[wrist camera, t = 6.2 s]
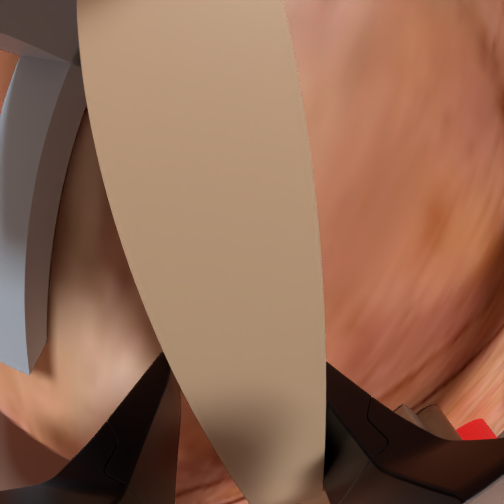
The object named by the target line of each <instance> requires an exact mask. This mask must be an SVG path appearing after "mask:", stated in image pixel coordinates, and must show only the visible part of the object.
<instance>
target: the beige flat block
mask: <svg viewBox="0 0 504 504" xmlns="http://www.w3.org/2000/svg"><path fill="white" fill-rule="evenodd" d="M77 23H78V37H79V49H80V58H81V67H82V75H83V82H84V89H85V96H86V102H87V108H88V113H89V119H90V124H91V129H92V134H93V139H94V144H95V148H96V153H97V157H98V162H99V166H100V170H101V174H102V178H103V182H104V186H105V190H106V193H107V197H108V201H109V204H110V208H111V211H112V215H113V218H114V221H115V225H116V228H117V231H118V234H119V237H120V240H121V244H122V247H123V250H124V253H125V256H126V258H127V261H128V264H129V267H130V270H131V273H132V276H133V278H134V281H135V284H136V286H137V289H138V292H139V294H140V297H141V299H142V302H143V305H144V307H145V310H146V312H147V315H148V317H149V319H150V322H151V324H152V327H153V329H154V331H155V334H156V336H157V338H158V341H159V343H160V345H161V347H162V350H163V352H164V354H165V356H166V358H167V361H168V363H169V365H170V367H171V369H172V371H173V373H174V375H175V377H176V380H177V382H178V384H179V386H180V388H181V390H182V392H183V394H184V396H185V397H186V399H187V401H188V403H189V405H190V407H191V409H192V411H193V413H194V415H195V416H196V418H197V420H198V422H199V424H200V426H201V427H202V429H203V431H204V433H205V434H206V436H207V438H208V440H209V441H210V443H211V445H212V447H213V448H214V450H215V452H216V453H217V455H218V457H219V458H220V460H221V461H222V463H223V465H224V466H225V468H226V470H227V471H228V473H229V474H230V476H231V477H232V479H233V480H234V482H235V483H236V485H237V486H238V488H239V489H240V491H241V492H242V494H243V495H244V497H245V498H246V500H247V501H248V503H249V504H296V503H300V502H304V501H307V500H311V499H314V498H317V497H321V496H322V488H323V483H322V481H323V473H324V454H325V426H326V342H325V313H324V292H323V275H322V260H321V246H320V234H319V223H318V212H317V202H316V193H315V184H314V175H313V167H312V159H311V151H310V144H309V137H308V130H307V123H306V116H305V110H304V104H303V98H302V92H301V86H300V80H299V75H298V69H297V64H296V58H295V53H294V48H293V43H292V39H291V34H290V29H289V24H288V20H287V15H286V11H285V7H284V3H283V0H77Z"/></svg>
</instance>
